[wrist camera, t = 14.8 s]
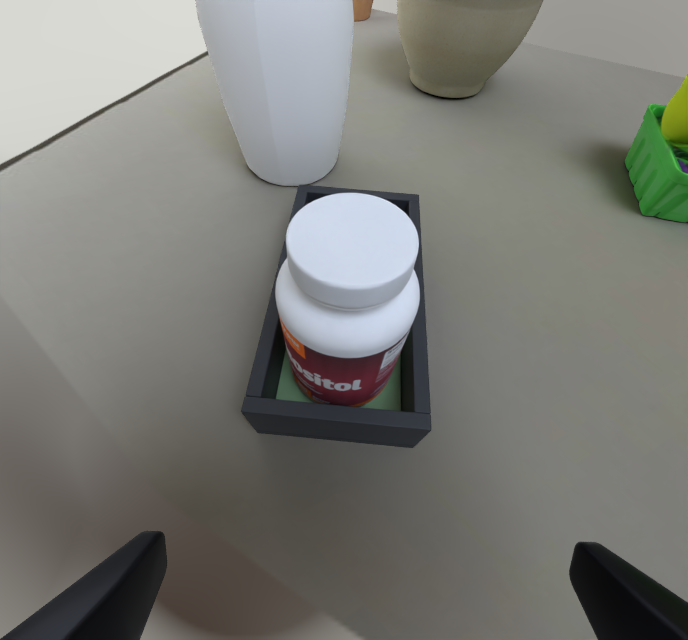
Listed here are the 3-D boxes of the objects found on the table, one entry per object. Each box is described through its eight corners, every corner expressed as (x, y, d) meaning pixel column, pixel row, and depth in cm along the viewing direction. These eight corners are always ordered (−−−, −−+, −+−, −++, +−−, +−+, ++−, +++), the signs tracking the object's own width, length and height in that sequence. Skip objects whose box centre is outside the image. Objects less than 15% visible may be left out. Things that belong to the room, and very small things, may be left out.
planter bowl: (532, 91, 43) (587, -26, 34) (448, 128, 38) (486, -1, 29) (443, 48, 50) (468, -61, 41) (360, 74, 44) (367, -46, 35)
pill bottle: (271, 377, 20) (221, 249, 11) (328, 308, 23) (327, 159, 14) (358, 435, 19) (386, 342, 9) (407, 353, 21) (467, 218, 12)
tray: (413, 448, 19) (431, 430, 16) (256, 432, 19) (240, 412, 16) (408, 235, 28) (419, 194, 25) (302, 225, 29) (298, 184, 25)
